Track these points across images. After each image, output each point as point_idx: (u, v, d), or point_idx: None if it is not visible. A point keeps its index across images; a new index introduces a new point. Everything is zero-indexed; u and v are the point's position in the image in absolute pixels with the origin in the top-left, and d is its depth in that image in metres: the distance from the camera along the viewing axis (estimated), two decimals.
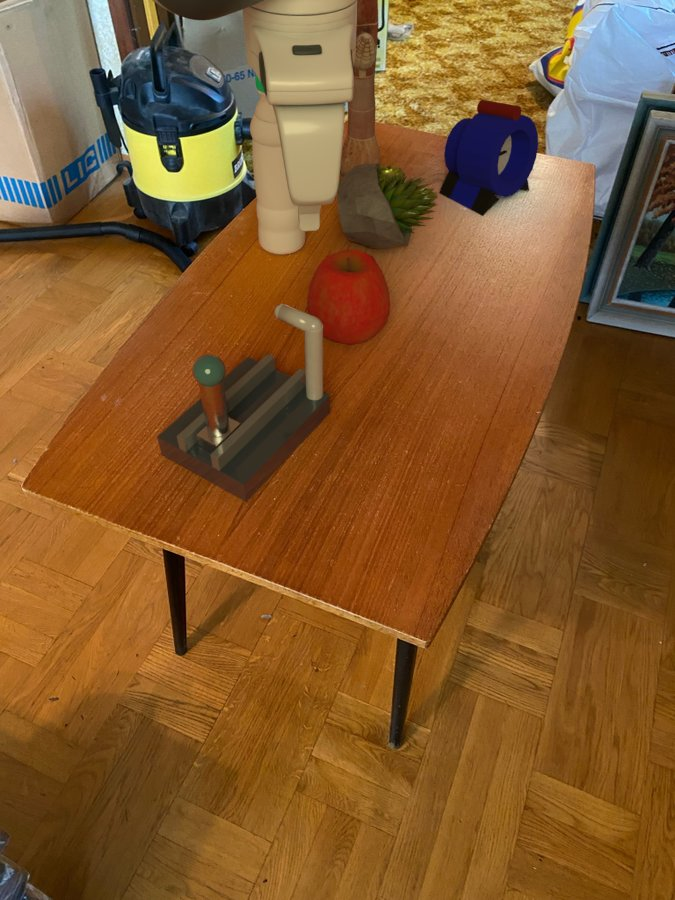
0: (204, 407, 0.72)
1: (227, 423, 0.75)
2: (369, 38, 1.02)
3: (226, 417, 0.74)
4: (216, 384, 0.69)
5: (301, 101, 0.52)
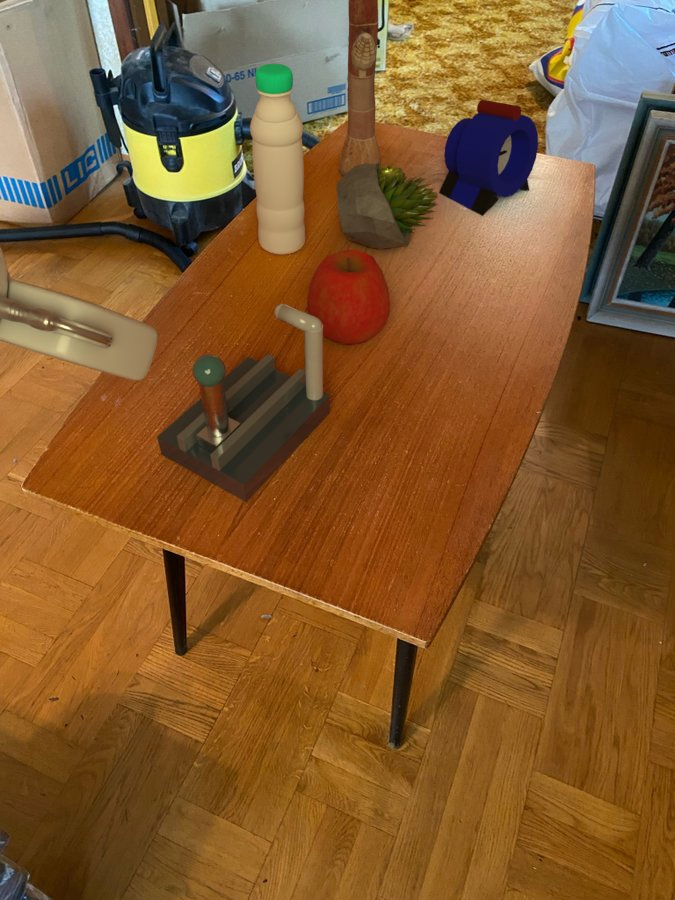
0: (204, 407, 0.72)
1: (227, 423, 0.75)
2: (369, 38, 1.02)
3: (226, 417, 0.74)
4: (216, 384, 0.69)
5: None
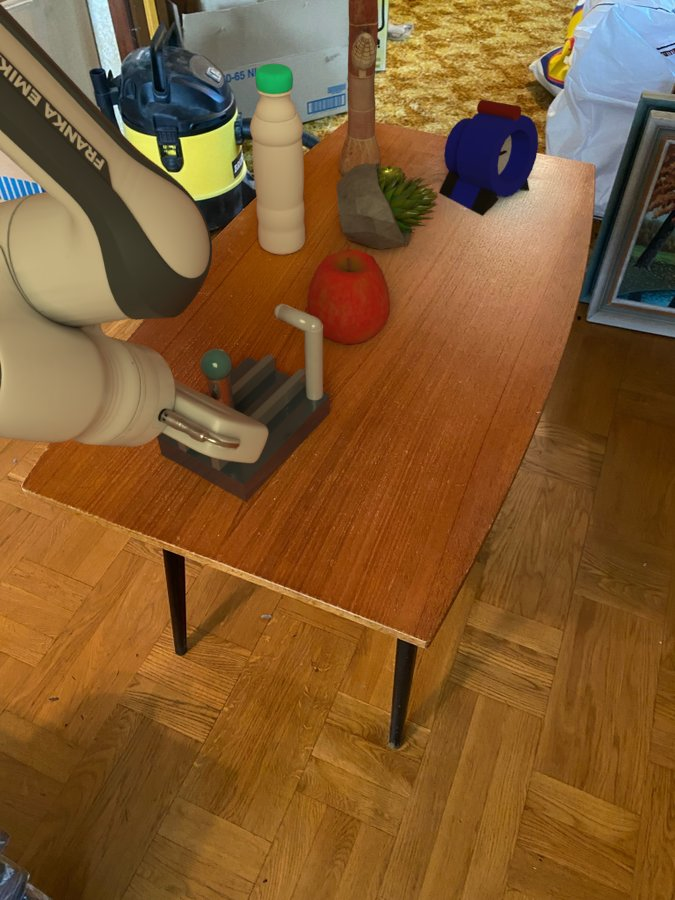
0: None
1: None
2: (369, 38, 1.02)
3: None
4: (223, 378, 0.70)
5: None
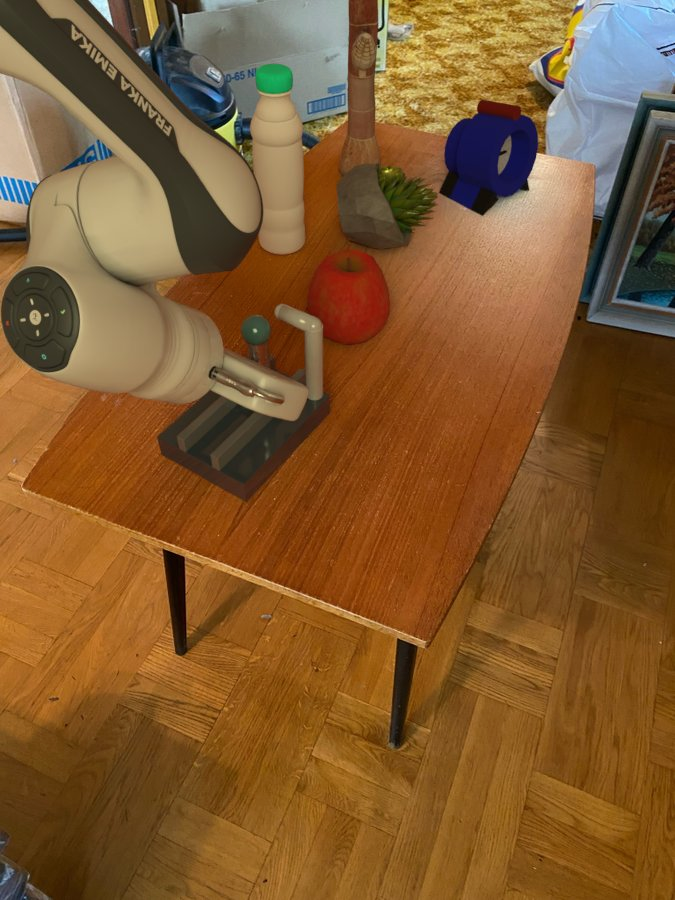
0: None
1: None
2: (369, 38, 1.02)
3: None
4: (262, 343, 0.74)
5: None
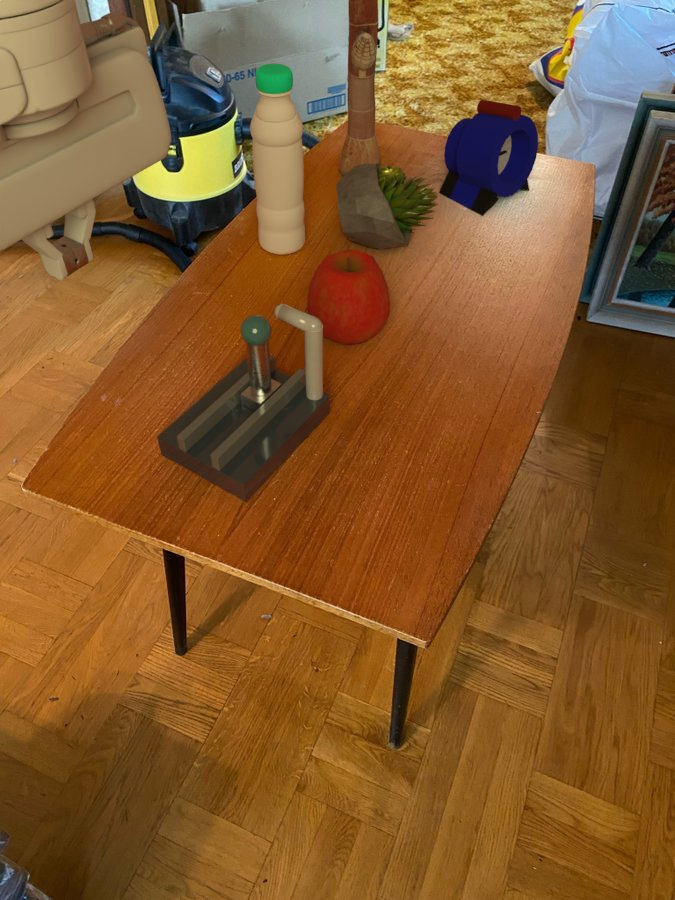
0: (249, 366, 0.77)
1: (270, 382, 0.79)
2: (369, 38, 1.02)
3: (269, 377, 0.78)
4: (262, 343, 0.74)
5: None
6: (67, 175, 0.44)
